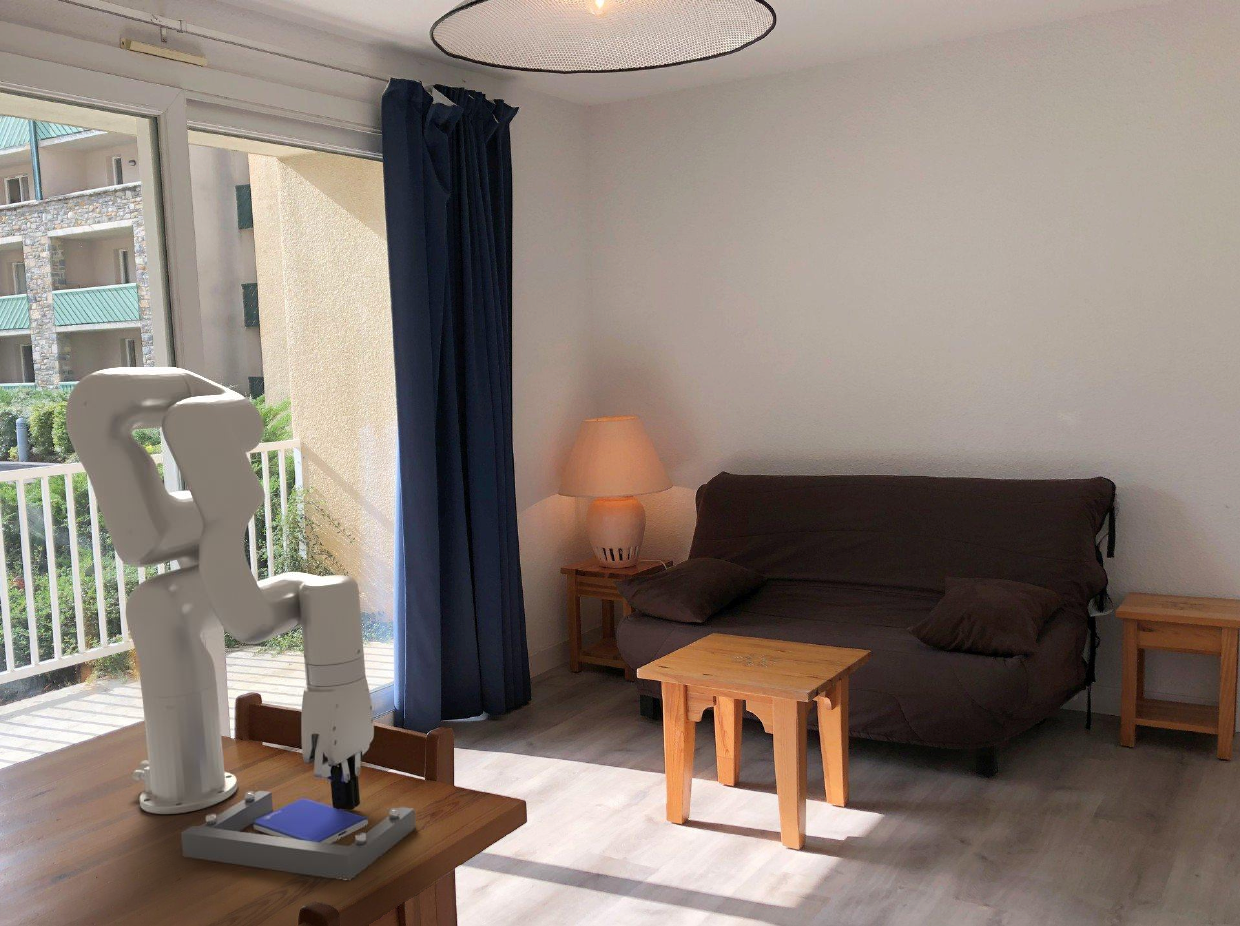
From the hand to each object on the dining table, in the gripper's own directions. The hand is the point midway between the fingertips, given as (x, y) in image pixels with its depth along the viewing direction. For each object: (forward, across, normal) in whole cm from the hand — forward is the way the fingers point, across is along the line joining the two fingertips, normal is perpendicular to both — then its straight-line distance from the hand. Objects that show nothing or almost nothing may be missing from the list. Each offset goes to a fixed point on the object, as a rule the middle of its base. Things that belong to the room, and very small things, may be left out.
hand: (346, 806), depth 136 cm
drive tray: (+1, +9, 0) cm, 9 cm away
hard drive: (+1, +5, -2) cm, 6 cm away
